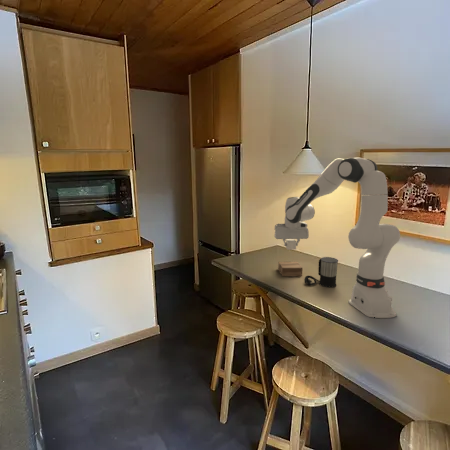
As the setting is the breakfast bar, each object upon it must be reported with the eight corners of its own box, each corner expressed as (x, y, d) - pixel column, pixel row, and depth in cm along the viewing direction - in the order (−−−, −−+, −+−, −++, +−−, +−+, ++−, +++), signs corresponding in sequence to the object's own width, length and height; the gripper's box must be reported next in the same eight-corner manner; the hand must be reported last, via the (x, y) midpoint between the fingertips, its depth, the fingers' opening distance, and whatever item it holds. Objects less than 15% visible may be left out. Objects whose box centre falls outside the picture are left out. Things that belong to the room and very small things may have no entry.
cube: (295, 249, 190) (296, 241, 189) (287, 249, 189) (288, 241, 188) (293, 247, 194) (294, 239, 193) (285, 247, 194) (286, 239, 193)
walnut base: (302, 275, 190) (302, 267, 189) (282, 276, 189) (282, 268, 188) (296, 268, 201) (297, 261, 200) (278, 269, 201) (278, 261, 200)
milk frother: (340, 285, 175) (342, 260, 172) (319, 291, 167) (321, 265, 164) (320, 277, 187) (322, 253, 184) (300, 282, 179) (302, 257, 176)
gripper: (275, 224, 185) (274, 247, 188) (310, 224, 186) (308, 247, 189) (273, 222, 191) (273, 244, 194) (307, 222, 192) (305, 244, 195)
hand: (290, 245), depth 192 cm, fingers closed on cube, 5 cm apart
